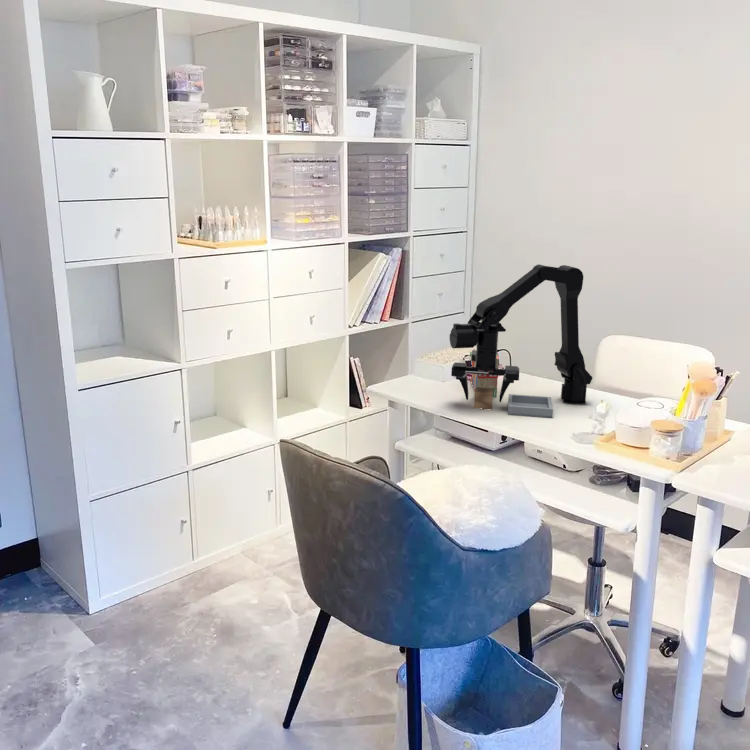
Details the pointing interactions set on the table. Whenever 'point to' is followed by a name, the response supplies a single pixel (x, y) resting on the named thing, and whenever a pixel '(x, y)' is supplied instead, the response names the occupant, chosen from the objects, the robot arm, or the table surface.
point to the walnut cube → (483, 398)
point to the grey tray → (530, 406)
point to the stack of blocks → (484, 378)
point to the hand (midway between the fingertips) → (483, 400)
